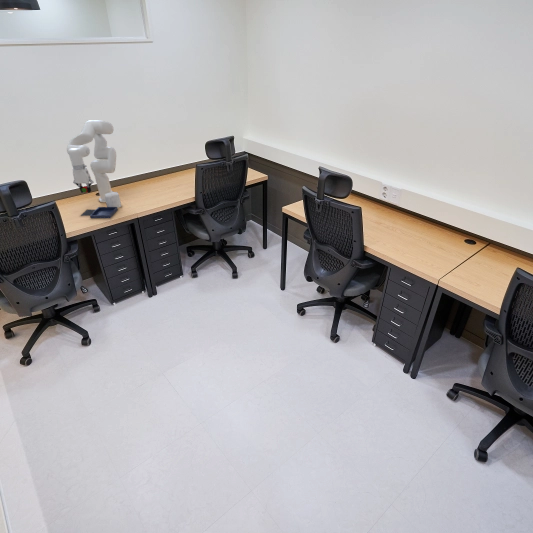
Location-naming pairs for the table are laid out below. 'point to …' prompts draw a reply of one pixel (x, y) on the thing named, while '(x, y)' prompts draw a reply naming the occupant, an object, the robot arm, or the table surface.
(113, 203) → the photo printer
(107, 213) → the tray
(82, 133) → the robot arm
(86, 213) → the mat
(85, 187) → the strawberry
